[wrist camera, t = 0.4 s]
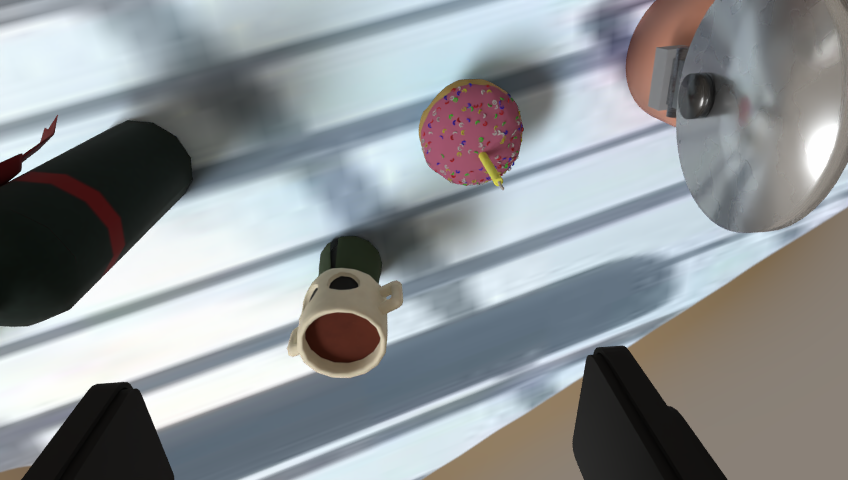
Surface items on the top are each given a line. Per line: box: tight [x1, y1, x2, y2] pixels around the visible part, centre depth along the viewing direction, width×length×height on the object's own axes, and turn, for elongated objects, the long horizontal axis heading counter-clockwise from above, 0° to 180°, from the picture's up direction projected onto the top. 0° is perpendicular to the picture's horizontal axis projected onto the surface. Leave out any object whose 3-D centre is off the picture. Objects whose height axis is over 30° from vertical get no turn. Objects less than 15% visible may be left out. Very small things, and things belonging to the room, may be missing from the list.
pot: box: [626, 0, 715, 127], centre depth 37 cm, size 18×14×10 cm
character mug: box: [287, 236, 403, 378], centre depth 43 cm, size 11×7×13 cm, turn 117°
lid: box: [666, 0, 848, 233], centre depth 26 cm, size 13×15×2 cm
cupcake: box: [419, 79, 524, 190], centre depth 37 cm, size 9×8×12 cm
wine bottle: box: [0, 115, 193, 327], centre depth 28 cm, size 8×10×30 cm
